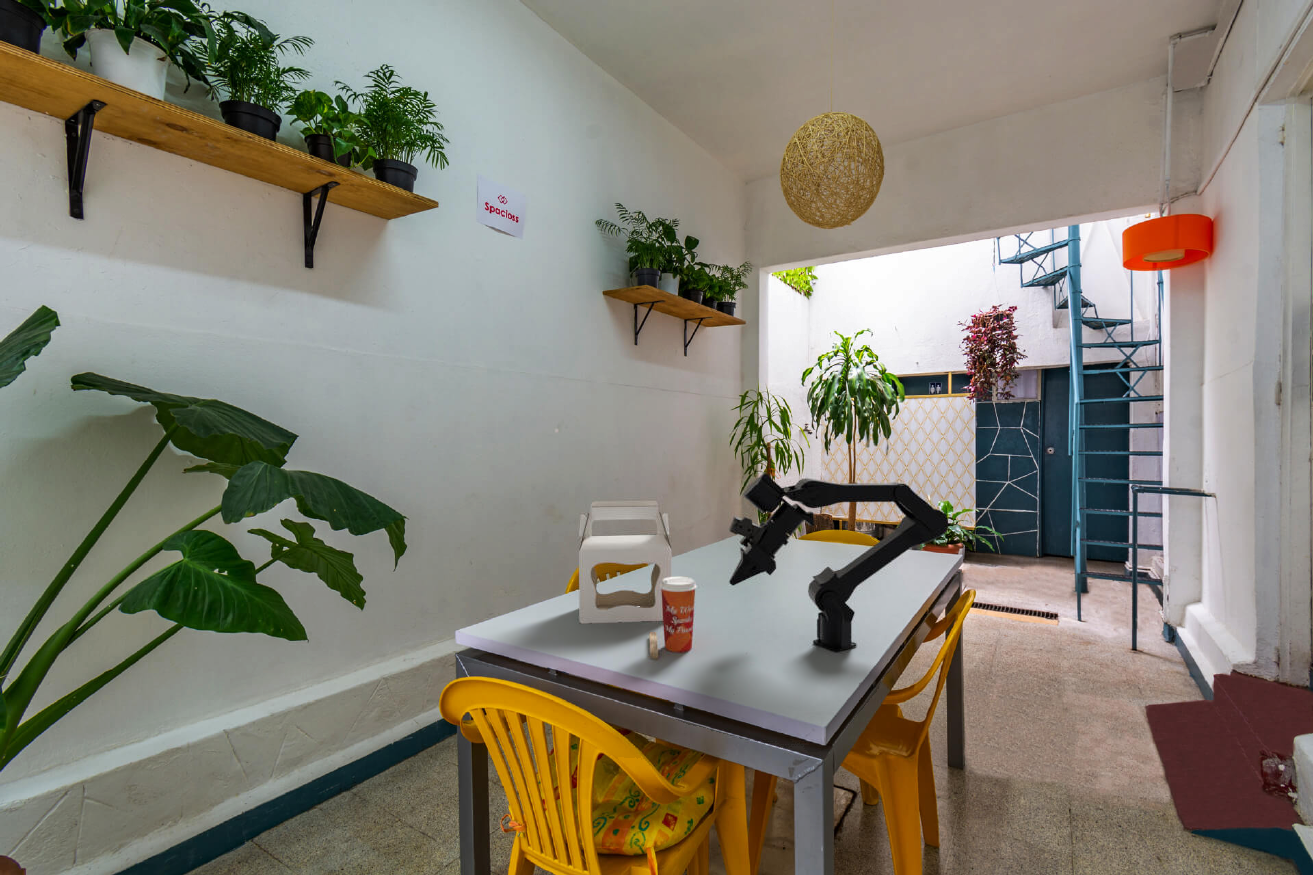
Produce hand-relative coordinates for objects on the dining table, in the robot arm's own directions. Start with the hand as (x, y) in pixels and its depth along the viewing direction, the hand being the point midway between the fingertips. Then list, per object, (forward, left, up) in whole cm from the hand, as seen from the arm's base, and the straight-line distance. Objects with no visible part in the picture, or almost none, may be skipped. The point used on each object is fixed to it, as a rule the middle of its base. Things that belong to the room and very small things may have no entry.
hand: (730, 583), depth 126 cm
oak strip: (+8, +15, -13) cm, 21 cm away
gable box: (+31, +8, -13) cm, 35 cm away
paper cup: (+5, +10, -13) cm, 17 cm away
